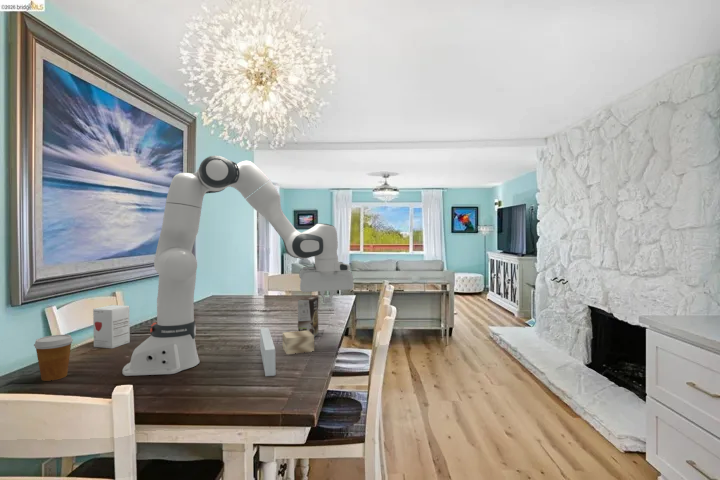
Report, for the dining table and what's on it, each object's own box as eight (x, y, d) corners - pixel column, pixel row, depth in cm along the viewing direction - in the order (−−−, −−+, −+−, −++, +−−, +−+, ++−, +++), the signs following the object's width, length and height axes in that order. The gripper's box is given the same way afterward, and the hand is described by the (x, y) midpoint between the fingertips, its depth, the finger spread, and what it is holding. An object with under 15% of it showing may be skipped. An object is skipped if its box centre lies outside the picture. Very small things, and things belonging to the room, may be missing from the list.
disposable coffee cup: (28, 384, 118) (27, 343, 118) (43, 373, 127) (42, 335, 127) (66, 381, 120) (65, 340, 120) (78, 370, 130) (77, 333, 129)
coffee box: (312, 339, 166) (312, 299, 166) (297, 338, 167) (297, 299, 167) (319, 333, 175) (318, 296, 175) (304, 333, 176) (304, 296, 176)
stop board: (265, 376, 123) (265, 350, 123) (260, 349, 152) (260, 328, 152) (275, 375, 124) (275, 349, 124) (268, 348, 153) (268, 327, 153)
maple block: (286, 355, 145) (286, 338, 145) (282, 348, 154) (282, 332, 154) (314, 352, 149) (314, 335, 149) (308, 345, 157) (308, 330, 157)
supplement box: (92, 347, 157) (91, 308, 156) (112, 341, 165) (111, 304, 165) (112, 348, 154) (111, 309, 154) (130, 342, 163) (130, 305, 163)
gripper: (300, 268, 148) (301, 305, 148) (354, 265, 154) (354, 302, 154) (297, 266, 154) (298, 302, 154) (349, 264, 160) (350, 299, 160)
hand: (327, 302), depth 154 cm, fingers closed
